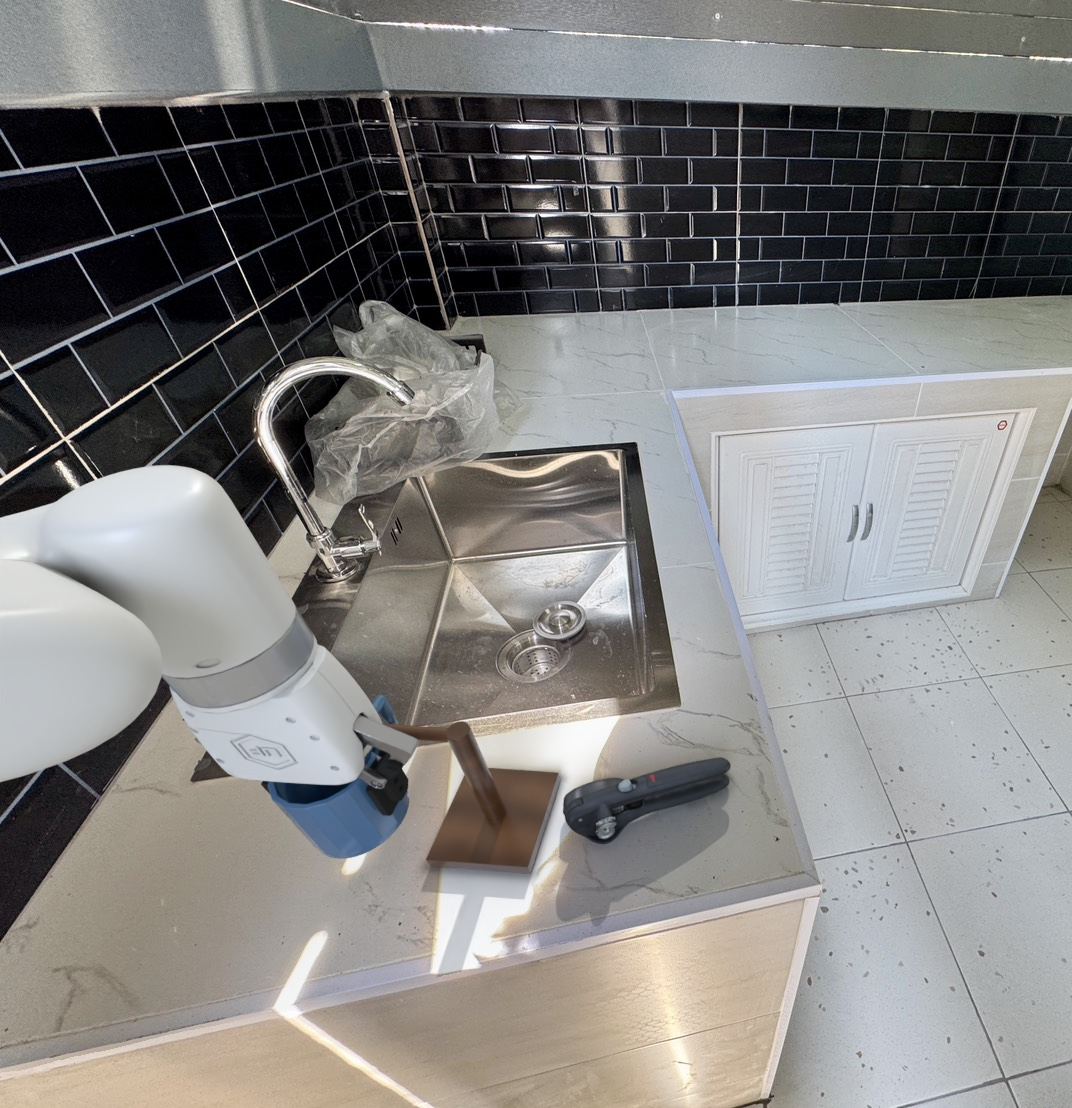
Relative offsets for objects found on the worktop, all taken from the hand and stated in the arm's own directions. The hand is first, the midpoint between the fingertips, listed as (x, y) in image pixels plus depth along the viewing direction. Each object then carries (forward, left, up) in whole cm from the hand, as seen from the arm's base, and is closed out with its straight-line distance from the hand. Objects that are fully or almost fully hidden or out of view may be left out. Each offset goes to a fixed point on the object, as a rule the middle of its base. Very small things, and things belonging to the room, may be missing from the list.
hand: (347, 794), depth 50 cm
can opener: (+8, -23, -14) cm, 28 cm away
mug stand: (+6, -4, -14) cm, 16 cm away
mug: (+2, 0, -3) cm, 4 cm away
